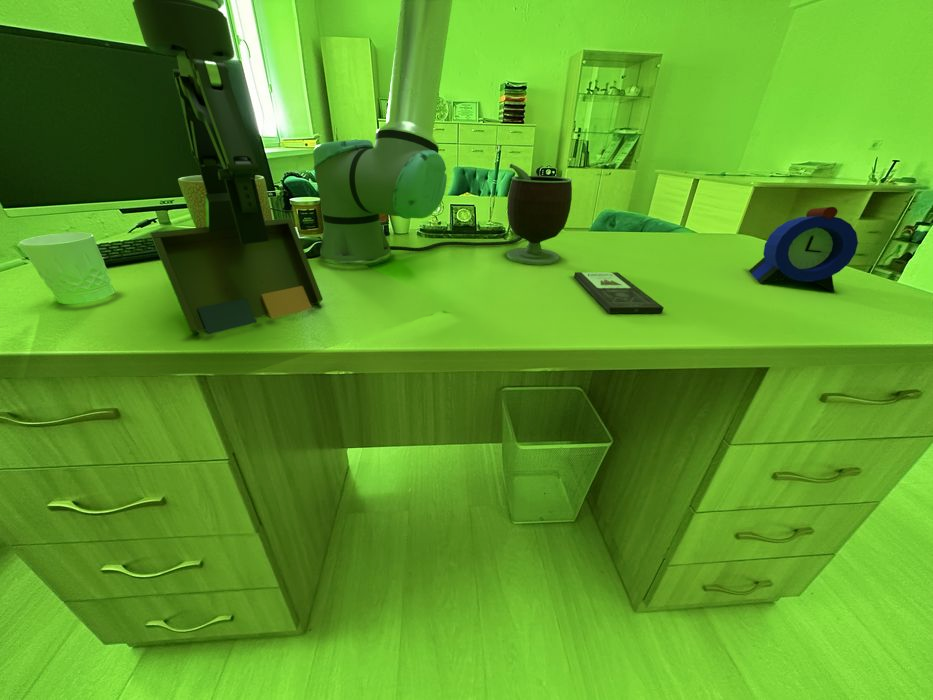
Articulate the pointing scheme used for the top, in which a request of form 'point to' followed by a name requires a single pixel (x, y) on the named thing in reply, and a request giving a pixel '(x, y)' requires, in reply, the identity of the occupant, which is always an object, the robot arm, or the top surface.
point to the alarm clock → (808, 249)
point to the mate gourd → (537, 214)
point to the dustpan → (231, 262)
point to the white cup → (70, 266)
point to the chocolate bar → (617, 293)
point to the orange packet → (285, 302)
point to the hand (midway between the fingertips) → (239, 230)
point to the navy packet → (226, 315)
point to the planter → (197, 198)
